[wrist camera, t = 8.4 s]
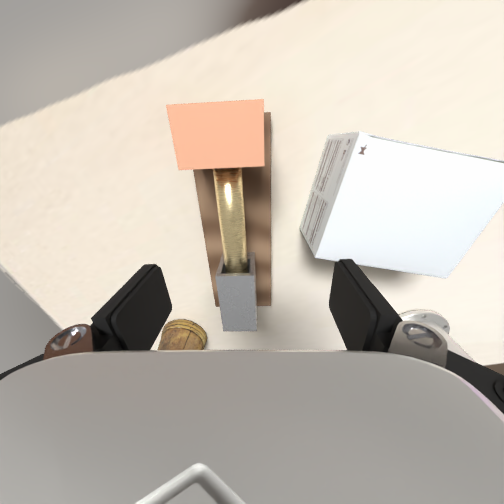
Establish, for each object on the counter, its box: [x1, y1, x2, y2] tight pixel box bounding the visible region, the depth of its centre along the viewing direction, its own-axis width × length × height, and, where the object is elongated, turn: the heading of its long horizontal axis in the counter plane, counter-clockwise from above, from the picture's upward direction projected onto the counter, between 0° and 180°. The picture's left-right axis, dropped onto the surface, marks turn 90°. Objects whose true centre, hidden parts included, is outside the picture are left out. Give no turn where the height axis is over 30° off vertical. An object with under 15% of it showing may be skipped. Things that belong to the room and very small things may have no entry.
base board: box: [193, 112, 271, 307], centre depth 31 cm, size 29×10×2 cm, turn 3°
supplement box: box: [300, 131, 504, 278], centre depth 25 cm, size 17×13×9 cm
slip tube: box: [213, 167, 248, 274], centre depth 26 cm, size 20×3×3 cm, turn 3°
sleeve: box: [215, 252, 257, 331], centre depth 32 cm, size 10×5×6 cm, turn 3°
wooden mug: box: [158, 319, 207, 350], centre depth 36 cm, size 9×14×18 cm, turn 27°
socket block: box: [166, 99, 265, 170], centre depth 21 cm, size 5×8×8 cm, turn 93°
